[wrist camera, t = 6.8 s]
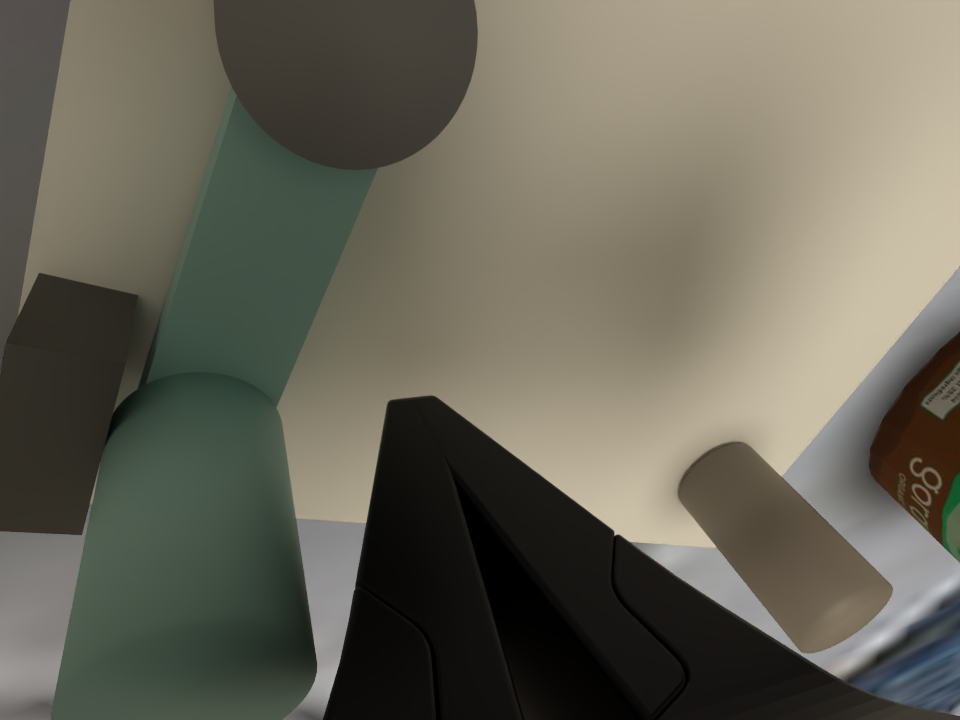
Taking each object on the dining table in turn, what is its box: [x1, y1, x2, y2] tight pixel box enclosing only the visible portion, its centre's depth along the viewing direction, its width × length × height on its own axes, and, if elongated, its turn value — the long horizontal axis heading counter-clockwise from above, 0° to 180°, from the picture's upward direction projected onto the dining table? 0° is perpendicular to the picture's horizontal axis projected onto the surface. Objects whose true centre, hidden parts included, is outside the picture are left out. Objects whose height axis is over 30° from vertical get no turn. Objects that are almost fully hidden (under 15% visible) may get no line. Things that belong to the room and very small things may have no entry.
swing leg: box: [51, 0, 478, 720], centre depth 7 cm, size 9×3×5 cm, turn 151°
